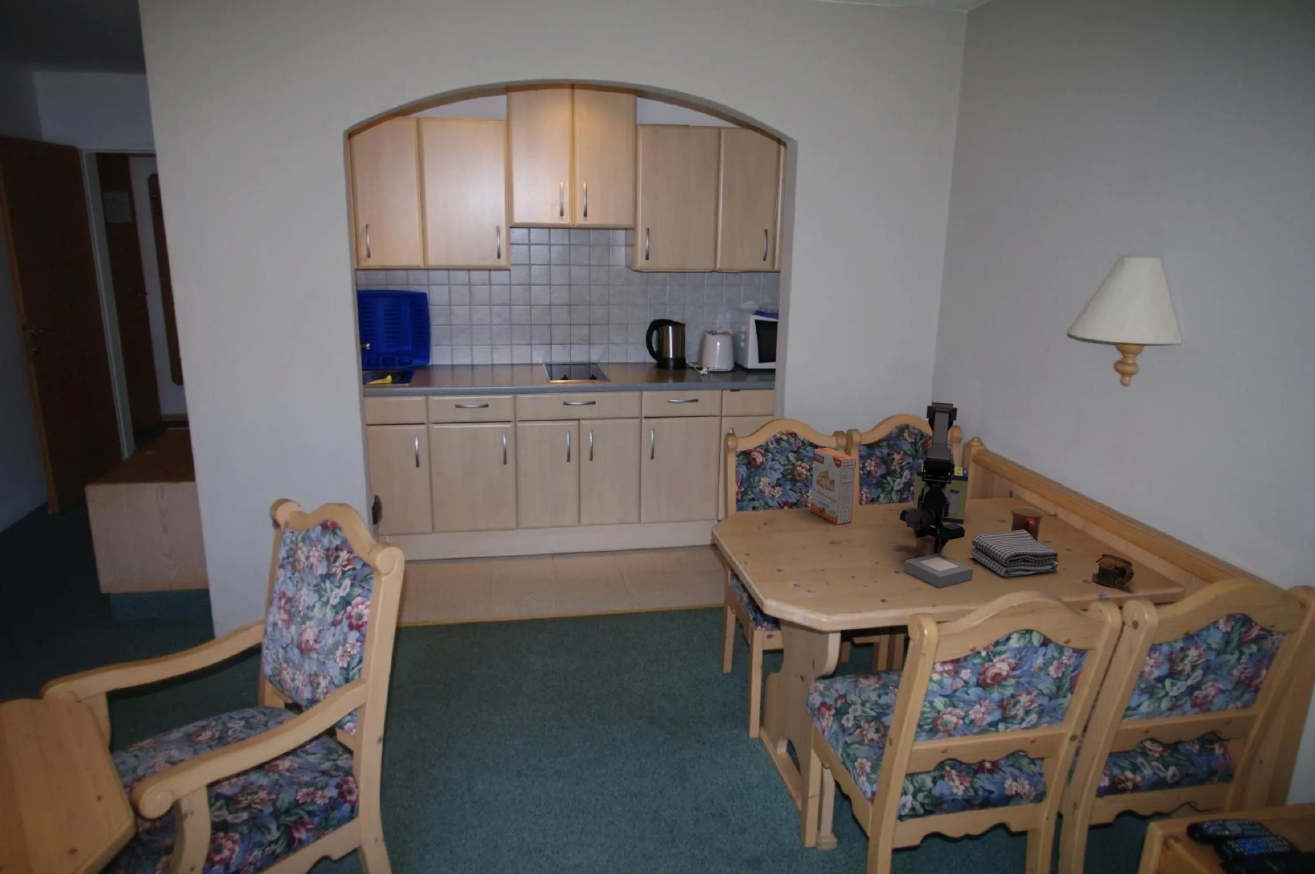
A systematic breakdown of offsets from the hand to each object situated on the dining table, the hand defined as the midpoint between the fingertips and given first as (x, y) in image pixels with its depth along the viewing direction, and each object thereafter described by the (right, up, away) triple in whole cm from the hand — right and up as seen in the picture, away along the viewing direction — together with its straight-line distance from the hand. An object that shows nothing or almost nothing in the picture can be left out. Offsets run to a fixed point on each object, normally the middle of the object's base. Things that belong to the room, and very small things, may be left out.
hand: (928, 552), depth 235 cm
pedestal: (-2, -4, -13) cm, 14 cm away
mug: (+30, 0, +9) cm, 32 cm away
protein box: (+14, +7, +34) cm, 38 cm away
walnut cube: (0, -1, 0) cm, 1 cm away
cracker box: (-21, +7, +31) cm, 38 cm away
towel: (+22, -3, -5) cm, 22 cm away
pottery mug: (+43, -6, -15) cm, 46 cm away
